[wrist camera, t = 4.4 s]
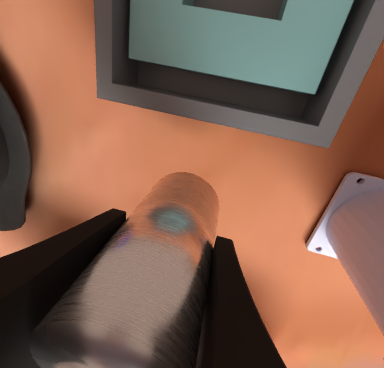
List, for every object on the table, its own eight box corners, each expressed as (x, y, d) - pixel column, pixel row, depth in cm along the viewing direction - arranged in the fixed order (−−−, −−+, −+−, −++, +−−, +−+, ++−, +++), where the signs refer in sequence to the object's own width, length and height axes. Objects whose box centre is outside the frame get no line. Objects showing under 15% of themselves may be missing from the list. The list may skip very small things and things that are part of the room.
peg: (226, 181, 11) (207, 365, 4) (211, 239, 13) (177, 437, 5) (154, 164, 11) (11, 300, 4) (149, 222, 13) (43, 387, 6)
